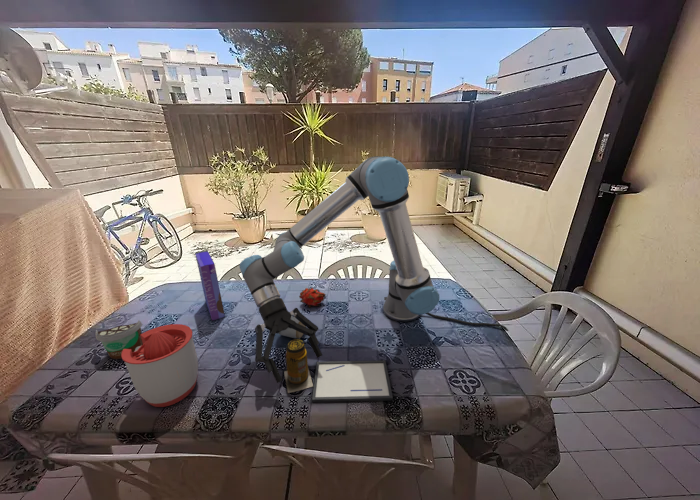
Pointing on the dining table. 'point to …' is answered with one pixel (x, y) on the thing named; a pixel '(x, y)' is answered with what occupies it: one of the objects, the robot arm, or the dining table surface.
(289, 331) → the ceramic mug
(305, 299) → the dragon fruit
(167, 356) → the citrus juicer
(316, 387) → the whiteboard
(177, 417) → the dining table surface
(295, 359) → the condiment
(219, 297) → the cereal box
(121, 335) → the food container
